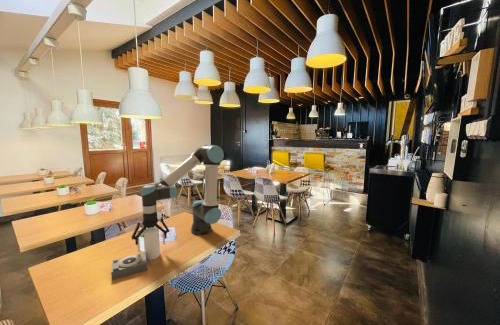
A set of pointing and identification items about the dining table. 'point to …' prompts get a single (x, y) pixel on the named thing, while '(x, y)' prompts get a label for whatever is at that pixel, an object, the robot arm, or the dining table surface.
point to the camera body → (128, 265)
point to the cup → (151, 243)
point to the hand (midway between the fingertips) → (151, 246)
